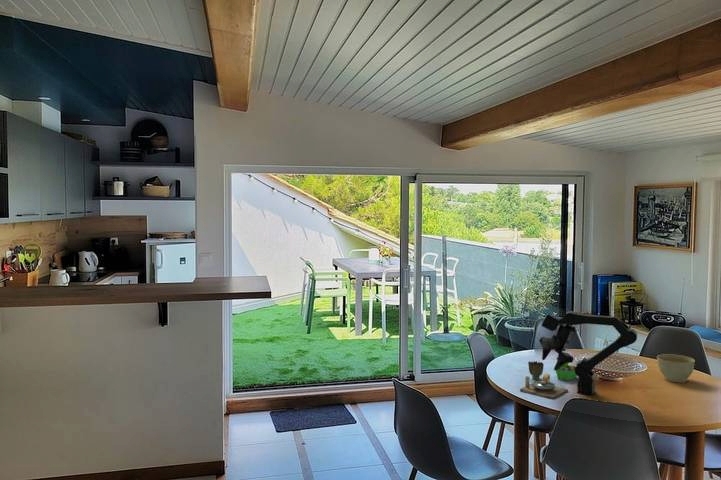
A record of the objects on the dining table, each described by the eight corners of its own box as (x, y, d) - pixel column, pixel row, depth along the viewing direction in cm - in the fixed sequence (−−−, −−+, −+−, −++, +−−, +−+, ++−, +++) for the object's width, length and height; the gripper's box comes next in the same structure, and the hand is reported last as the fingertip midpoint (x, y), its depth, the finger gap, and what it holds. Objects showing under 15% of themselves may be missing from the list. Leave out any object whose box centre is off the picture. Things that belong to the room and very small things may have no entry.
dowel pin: (530, 386, 251) (530, 376, 251) (528, 387, 250) (528, 377, 250) (526, 385, 252) (526, 375, 252) (524, 386, 251) (524, 376, 251)
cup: (544, 381, 263) (544, 365, 262) (529, 380, 264) (529, 364, 264) (542, 376, 270) (542, 361, 270) (527, 375, 272) (527, 360, 271)
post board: (567, 391, 247) (567, 381, 247) (552, 399, 237) (552, 389, 237) (535, 383, 259) (535, 374, 259) (520, 390, 248) (520, 381, 248)
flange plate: (552, 391, 240) (552, 383, 240) (529, 387, 246) (529, 380, 245) (558, 382, 253) (558, 375, 253) (536, 379, 258) (536, 372, 258)
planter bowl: (657, 373, 275) (657, 352, 274) (694, 378, 266) (694, 356, 266) (655, 381, 261) (656, 359, 260) (694, 387, 253) (695, 364, 252)
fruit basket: (568, 382, 261) (568, 359, 261) (551, 377, 268) (552, 355, 268) (580, 377, 269) (580, 355, 268) (563, 373, 275) (563, 352, 275)
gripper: (537, 324, 255) (524, 352, 258) (561, 343, 238) (547, 373, 242) (555, 327, 259) (542, 355, 262) (580, 347, 242) (566, 376, 246)
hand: (548, 365), depth 253 cm, fingers open, 9 cm apart
